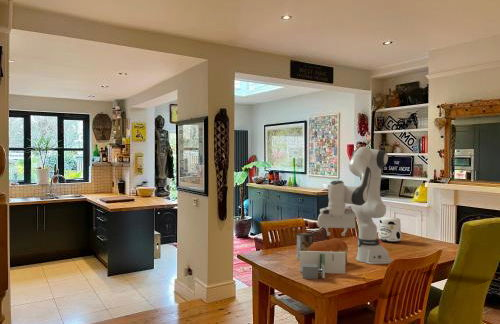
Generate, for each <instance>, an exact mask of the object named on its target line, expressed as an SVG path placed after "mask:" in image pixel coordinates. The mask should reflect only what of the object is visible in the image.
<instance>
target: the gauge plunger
mask: <svg viewBox="0 0 500 324" xmlns="http://www.w3.org/2000/svg"><path fill="white" fill-rule="evenodd" d="M302 271H303V269H302ZM318 272H320V273H319V274H320V275H321V277H322V279H326V273H325V266H324V264H323V263H322V254H320V269H318Z"/></svg>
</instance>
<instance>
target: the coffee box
mask: <svg viewBox="0 0 500 324" xmlns="http://www.w3.org/2000/svg"><path fill="white" fill-rule="evenodd" d="M313 243H314V234H313V233H310V232H303V233H302V232H299V233H296V258H297V259H298V260H300V251H307V250H308V247H309V246H310V245H311V244H313Z"/></svg>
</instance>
